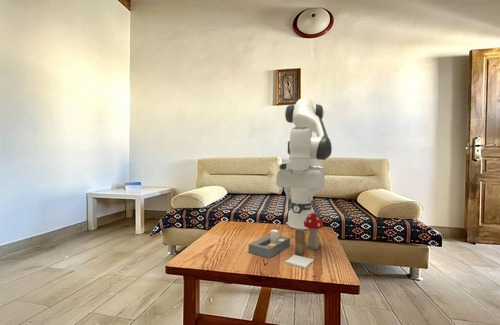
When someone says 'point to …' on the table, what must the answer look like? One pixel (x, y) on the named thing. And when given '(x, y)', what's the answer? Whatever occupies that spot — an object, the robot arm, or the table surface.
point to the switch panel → (268, 246)
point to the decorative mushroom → (313, 230)
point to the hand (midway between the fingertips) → (299, 199)
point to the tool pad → (299, 261)
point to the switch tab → (274, 235)
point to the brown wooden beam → (300, 242)
